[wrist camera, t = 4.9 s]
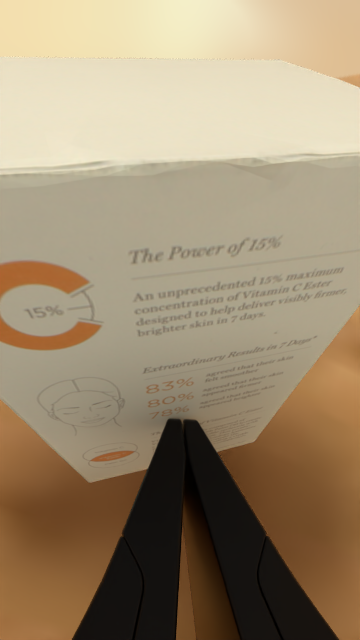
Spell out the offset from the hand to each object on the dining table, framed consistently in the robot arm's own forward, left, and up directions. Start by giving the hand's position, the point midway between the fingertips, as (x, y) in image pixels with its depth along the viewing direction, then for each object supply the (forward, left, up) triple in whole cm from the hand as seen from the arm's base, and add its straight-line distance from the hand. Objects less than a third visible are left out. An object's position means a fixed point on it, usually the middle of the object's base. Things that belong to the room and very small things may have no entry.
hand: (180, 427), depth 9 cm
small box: (+1, 0, -7) cm, 7 cm away
